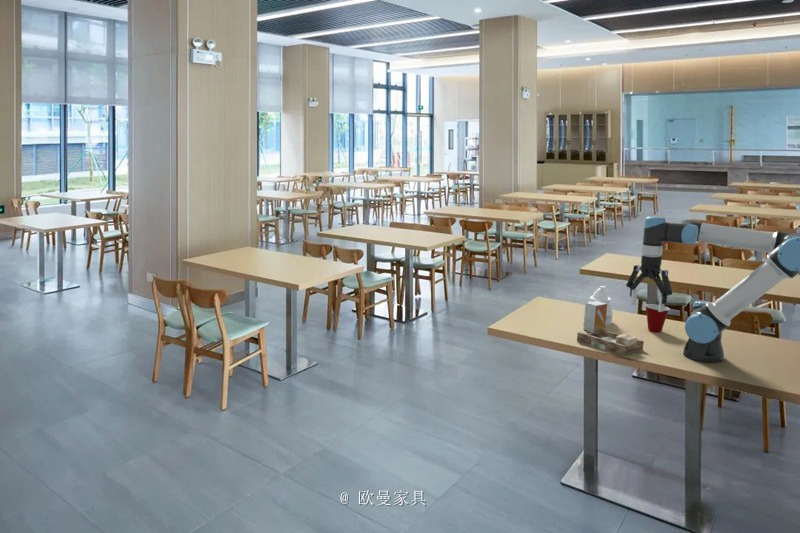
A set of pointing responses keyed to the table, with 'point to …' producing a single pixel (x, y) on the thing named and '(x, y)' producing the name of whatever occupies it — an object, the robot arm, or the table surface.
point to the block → (627, 340)
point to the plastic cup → (655, 317)
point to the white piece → (602, 297)
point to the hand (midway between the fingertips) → (646, 308)
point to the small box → (595, 315)
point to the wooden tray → (608, 342)
